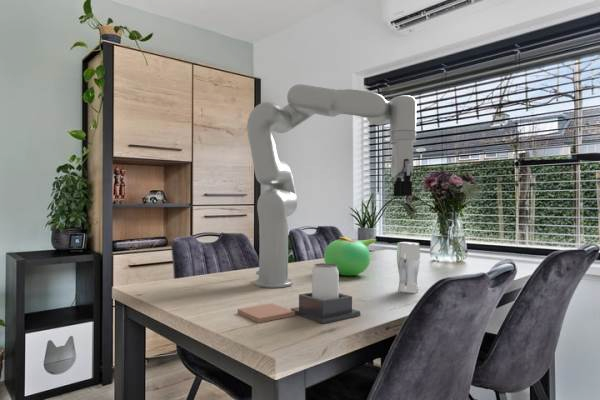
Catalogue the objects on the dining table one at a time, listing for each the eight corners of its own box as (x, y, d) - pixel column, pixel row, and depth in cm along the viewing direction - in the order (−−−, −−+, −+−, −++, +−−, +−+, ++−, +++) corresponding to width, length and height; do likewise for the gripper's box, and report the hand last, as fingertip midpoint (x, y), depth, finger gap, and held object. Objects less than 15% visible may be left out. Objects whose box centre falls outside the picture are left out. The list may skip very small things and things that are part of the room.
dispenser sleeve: (290, 312, 102) (291, 294, 102) (327, 305, 109) (327, 288, 109) (322, 323, 92) (322, 303, 92) (360, 315, 100) (360, 296, 100)
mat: (237, 313, 101) (237, 309, 101) (271, 307, 107) (271, 303, 107) (259, 322, 93) (259, 318, 93) (294, 315, 99) (294, 311, 99)
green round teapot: (315, 274, 157) (315, 235, 157) (344, 269, 169) (344, 233, 169) (351, 281, 144) (351, 239, 144) (380, 275, 155) (381, 236, 156)
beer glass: (420, 294, 124) (421, 244, 124) (396, 293, 125) (397, 243, 125) (418, 289, 130) (419, 242, 131) (396, 288, 132) (396, 241, 132)
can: (310, 310, 104) (310, 263, 104) (336, 310, 104) (336, 262, 104) (313, 317, 97) (313, 266, 97) (340, 317, 98) (341, 266, 98)
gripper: (385, 142, 132) (384, 196, 132) (395, 133, 115) (395, 195, 115) (408, 142, 132) (408, 196, 132) (423, 133, 114) (422, 195, 114)
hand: (402, 196), depth 123 cm, fingers open, 9 cm apart
